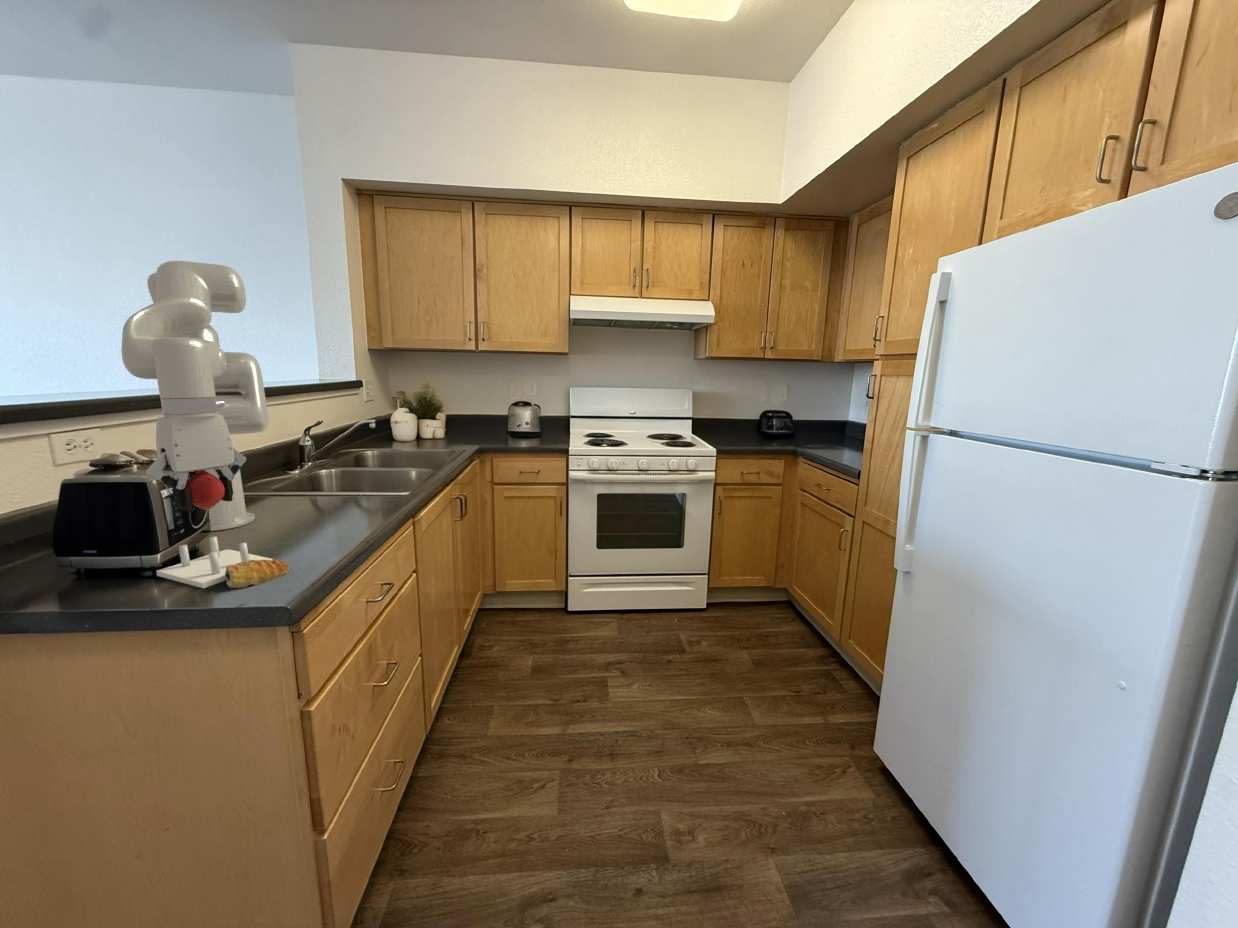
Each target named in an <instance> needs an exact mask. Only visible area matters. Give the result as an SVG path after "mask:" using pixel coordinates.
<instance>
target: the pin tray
mask: <svg viewBox="0 0 1238 928" xmlns="http://www.w3.org/2000/svg"><path fill="white" fill-rule="evenodd" d="M208 540H209V546H210V547H209V548H210V552H208V554H207V555H204V556H201V557H197V558H193V559H190V553H189V548H188V544H181V545H179V546H178V551H179V555H180V563H177V564H175V565H171V566H167V567H164V568H161V569H157V570H156V577H160V578H165V579H166V580H172V581H175V582H178V583H183V584H186V585H190V586H194V587H196V588H201V589H206V588H208V587H211V586H214V585H216V584H220V583H222V582H225V581H226V582H227V580H226V578H225V571H226V566H229V565H236V564H237V563H240V562H248V561H249V560H271V561H274V559H273V558H270V557H265V556H260V555H256V554H253V553H249V551H248V544H247V542H241V543H239V544H238V547H239V550H234V549H233V550H232V549H229V548H228V549H224V550H221V551H220V547H219V542H218V536H211V537H208Z"/></svg>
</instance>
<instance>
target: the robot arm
mask: <svg viewBox="0 0 1238 928" xmlns="http://www.w3.org/2000/svg"><path fill="white" fill-rule="evenodd" d="M147 288H148V292H149V294H150V298H151V300H152V302H153V303H151V304H149V305H147V306H145V307H143V308H141V309H140V310H138V311H136V312H135V313H133V314H131V315H130V316H129V317H128V318H127V319H126V321H125V322H124V324H123V327H122V333H121V334H122V335H121V359H122V362H123V365H124V368H125V369H126V370H127V371H128V372H129V374H131V375H132V376H133V377H136V378H139V379H142V380H143V379H144V380H157V387H158V393H159V398H160V404H161V410H162V415H163V416H158V417H157V419H156V426H155V427H156V429H155V446H156V447H155V448H156V457H157V458H156V459H155V460H154V461H153V462H152V464H151V465H150V466H149V467H148V468H147V469H146V470H145V474H146V475H147V476H149V477H151V478H152V479H154V480H157V481H158V482H159V483H162V484H163V485H165V486H167V487H168V488H170V489H172V494H173V500H174V504H175V506H176V507H177V508H178V509H179V510H182V511H191V510H192V509H194V508H193V504H192V501H191V495H190V490H189V489H188V488H186V486H185V485H186V482H187V481H188V479H189V472H194V471H201V470H204V471H206V472H208V473H210V474H212V475H214V476H216V477H217V478H218V479H219V480H220V481H221V482H222V483H223V485H224V488H225V494H224V496H223V498H222V499H221V500H220V501H219V502H218V503H217V504H216V505H214V506H213V507H212V508H210V509H209V519H210V525H211V531H210V532H213V531H214V532H215V531H217V532H218V531H222V530H223V531H224V530H229V529H233V528H238V527H242V526H245V525H248V524H251V523H252V522H253V521H255V519H256V517H255V513H252V512H247V509H246V508H247V507H246V503H245V494H244V487H243V480H242V475H241V467H242V466H243V465H244V464H245V463H246V461H247V456H245V455H243V454H242V453H240V452H239V451H238V450H236V449H235V447H234V446H233V441H232V437H231V435H232V436H233V435H246V434H256V433H257V434H259V433H263V432H264V431H265V430H266V429H267V428H268V426H269V414H268V413H269V412H268V407H267V405H268V404H267V400H266V398H267V397H266V392H265V387H264V380H263V374H262V369H261V366H260V364H259V361H258V360H257V358H256V357H255V356H254V355H253V354H250V353H246V352H240V351H239V352H235V351H233V352H232V351H224V349H222V348H221V346H220V339H219V338H220V337H219V334H218V331H216V329H215V328H214V327H212V325H211V324H210V323H211V322H212V316H213V315H212V313H222V314H223V313H224V314H227V313H228V314H239V313H242V312H243V311H244V310H245V308H246V303H247V300H246V299H247V298H246V297H247V296H246V290H245V289H246V288H245V284H244V282H243V279H242V277H241V276H240V274H239V273H238V271H236V269H234V268H232V267H230V266H227V265H223V264H217V263H216V264H215V263H205V262H198V261H197V262H195V261H188V260H187V261H185V260H169V261H165V262H163V263H161V264H159V266H158V267H157V269H156V271H155V272H154V273H153V272H152V274H149V276H148V277H147ZM216 392H238V393H240V394H232V395H220V394H217V395H216ZM164 472H171V473H170V475H168V474H166V473H164ZM192 511H193V510H192Z"/></svg>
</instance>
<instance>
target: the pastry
mask: <svg viewBox="0 0 1238 928" xmlns="http://www.w3.org/2000/svg"><path fill="white" fill-rule="evenodd" d="M288 565H289V564H288V563H287V561H284V560H281V559H273V561H271V560H249V561H248V562H240V563H237V564H236V565H229V566H226V571H225V578H226V584H227V586H228V587H229V588H232V589H242V588H247V587H248V586H250V585H261V584H263V583H265V582H270V581H272V580H275V579H277V578H280V577H282V576H284V575H286V574H288V573H289V571H290V569H289V566H288Z"/></svg>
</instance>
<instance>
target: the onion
mask: <svg viewBox="0 0 1238 928" xmlns="http://www.w3.org/2000/svg"><path fill="white" fill-rule="evenodd" d="M185 486H186V488H188V489H189V490H190V495H191V501H192V506H194V507H195V506H197V507H199V508H201V509H203V510H209V509H210V508H212V507H213V506H214V505H216V504H217V503H218V502H219V501H220V500H221V499H222V498H223V496H224V494H225V488H224V485H223V483H222V482H221V481H220V480H219V479H218V478H217V477H216V476H214V475H212V474H210V473H208V472H206V471H204V470H201V471H196V474H195V475H193V476H192V477H191V478H190V477H189V478H188V479H187V481H186V485H185Z"/></svg>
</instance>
